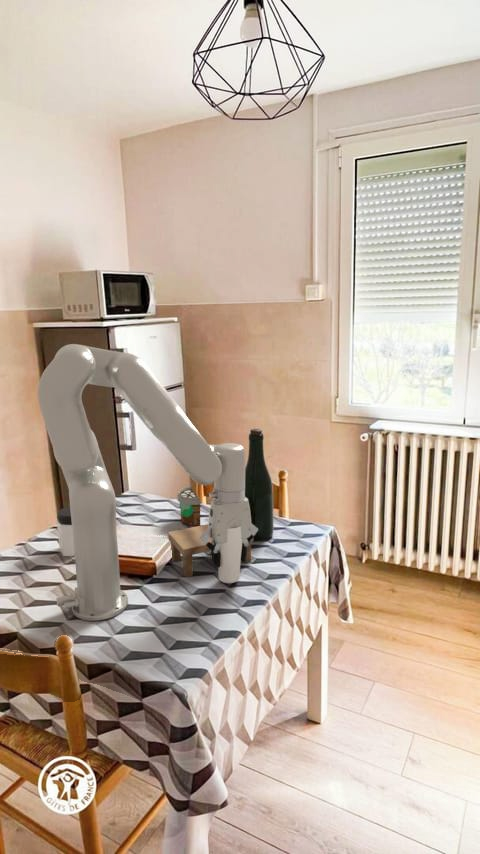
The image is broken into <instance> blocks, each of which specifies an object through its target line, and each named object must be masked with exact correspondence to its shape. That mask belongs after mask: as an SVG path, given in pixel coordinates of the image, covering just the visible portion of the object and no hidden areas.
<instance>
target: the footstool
mask: <svg viewBox="0 0 480 854" xmlns="http://www.w3.org/2000/svg"><path fill="white" fill-rule="evenodd" d="M207 528H208V523H207V524H202V525H201V524H200V526H197V527H188V528H183V529H178V530H172V531H169V532H167V540H168V541H169V542H170V551H171V550H172V560H171V562H172V563H174V562H175V563H178V561H179V562H182V574H183V576H184V577H185V578H188V577H193V576H194V570H193V569H194V566H193V565H194V564H193V562H194V561H193V556H194V555H200V554H203V553H207V552H211V550H210V549H209V548H208V547H207V546H206V545H204V544H203V543H202V542H201V541H200V540H199V538H200V536H201V535H202V534H203V533H204V532H205V531H206V529H207ZM208 541H209V542H210V543H211V541H212V537H209V538H208ZM252 542H254V541H253V538H252V540H251V541H250V542H249V545H248V546H247V556H246V561H245V562H243V563H244V564H245V563H249V562H251V561H252ZM181 555H182V557H181Z"/></svg>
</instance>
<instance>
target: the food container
mask: <svg viewBox="0 0 480 854" xmlns="http://www.w3.org/2000/svg"><path fill="white" fill-rule="evenodd" d="M176 498H177V501H178V502H179V511H180V519H181V523H182V525H184V526H186V527H189V528H192V527H197V526H201V506H202V505H201V504H202V503H201V502H202V501H201V497H198V495H197V494H196V492H195V491H194V489H193V486H188V487H183V488H181V489H180V490H179V491H178V494H177V497H176Z"/></svg>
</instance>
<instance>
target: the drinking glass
mask: <svg viewBox="0 0 480 854" xmlns="http://www.w3.org/2000/svg"><path fill="white" fill-rule="evenodd" d="M227 531H228V534H227V542H226V543H221V544H220V548H219V550H218V551H219V552H220V567H219V568H217V570H218V571H217V572H218V573H217V575H218V576H217V577H218V580H219V581H220V582H221V583H224V584H233V583H236V582H238V581H239V580H240V574H241V573H240V572H241V571H240V570H241V563H242V561H241V553H242V543H243V539H241V527H240V526H239V527H236V528H229V529H227Z"/></svg>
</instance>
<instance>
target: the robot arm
mask: <svg viewBox="0 0 480 854" xmlns="http://www.w3.org/2000/svg"><path fill="white" fill-rule="evenodd" d="M87 385H94V386H101V387H107V388H115V390H116V391H117V392H118V393H119V395H120V396H121V397H122V398H123V400H125V402H126V403H127V405H128V406H129V407H130V408H131V409H132V411H134V413H135V414H136V415H137V416H138V418H139V419H140V421H142V423H143V424H144V425H145V427H147V429H148V430H149V431H150V432H151V433H152V435H153V436H154V437H155V438H156V439H157V440H159V441H160V442H161V443H162V444H163V445H164V447H165V448H166V449H167V450H168V451H169V452H170V454H172V455H173V457H174V458H175V460H176V461H177V462H178V463H179V464H180V466H181V467H182V469H183V470H184V471H185V472H186V473H187V475H188V476H189V477H190V478H191V479H192V480H193V481H194V482H195V483H197V484H198V485H201V486H210V485H213V488H212V489H213V491H212V492H209V493H208V496H209V499H212V500H211V502H210V507H209V513H208V521H207V522H208V523H207V524H208V528H207V529H206V531H205V532H204V533H203V534H202V535H201V536H200V538H199V540H200V541H201V542H202V543H203V544H204V545H206V546H207V547H208V548H209V549H210V550H211V551H210V552H211V555H210V558H211V559H210V560H211V564H212V565H214V566H215V567H216V568H217V569H218V568H219V567H220V552H219V551H218V550H219V548H220V544H221V543H226V542H227V534H228V531H227V529H229V528H236V527H239V526H240V527H241V539H243V543H242V553H241V563H244V562H245V561H246V556H247V546H248V545H249V542H250V541H251V540H252V538H253V536H254V535H255V534H256V532H257V531H258V528H257V527H255V526H254V525H253V524H252V523H251V513H250V506H249V501H248V498H246V497H245V467H246V458H247V457H246V449H245V447H244V446H243V445H241V444H239V443H233V442H227V443H226V442H225V443H220V444H209V443H208V442H207V441H206V439H205V438H204V437H203V436H202V435H201V433H200V432H199V431H198V429H197V428H196V427H195V426H194V425H193V423H192V422H191V420H190V419H189V418H188V416H187V414H186V413H185V412H184V410H182V408H181V407H180V405H179V404H178V403H177V402H176V401H175V399H174V398H173V396H172V395H171V394H170V393H169V391H168V390H167V389H166V388H165V386H164V385H163V384H162V383H161V381H160V380H159V378H158V377H157V376H156V375H155V374H154V372H153V371H152V369H151V368H150V367H149V365H148V364H147V363H146V362H145V361H144V360H143V359H142V358H140V357H138V355H137V356H136V355H134V354H133V353H129V352H123V351H115V350H111V349H104V348H99V347H92V346H88V345H83V344H76V343H71V344H66V345H64V346H62V347H61V348H60V349H58V351H57V352H56V353H55V355H54V358H53V359H52V360H51V362H50V363H49V364H48V365H47V366H46V368H45V369H44V371H43V372H42V374H41V376H40V379H39V382H38V387H37V399H38V405H39V409H40V412H41V415H42V419H43V421H44V424H45V428H46V432H47V435H48V437H49V439H50V444H51V446H52V448H53V456H54V458H55V460H56V463H57V464H58V465H59V467H60V469H61V470H62V474H63V476H64V479H65V483H66V485H67V488H68V496H69V498H68V499H69V507H70V511H71V520H72V532H73V544H74V553H75V556H74V562H75V576H76V585H77V586H76V587H74V592H72V593H70V595H69V594H68V595H66V596H65V595H62V596H59V597H55V598H56V606H57V607H61V606H63V609H64V610H67V609H71V612H72V614H73V615H74V617H76V618H78V619H81V620H83V621H88V622H89V621H93V622H94V621H95V622H96V621H104V620H108V619H110V618H113V617H115V616H117V615H119V614H121V613H122V612H123V611H124V610H125V609H126V608H127V606H128V604H129V597H128V595H127V593H126V592H125V591H123V590H122V589H121V579H120V578H121V577H120V563H119V561H120V560H119V546H118V533H117V532H118V530H117V500H116V494H115V489H114V487H113V485H112V481H111V479H110V477H109V474H108V471H107V468H106V465H105V461H104V460H103V459H104V458H103V455H102V453H101V450H100V447H99V443H98V440H97V438H96V435H95V433H94V431H93V430H92V429H91V426H90V423H89V421H88V418H87V413H86V410H85V407H84V404H83V401H82V396H83V391H84V388H85V387H86V386H87ZM209 537H212V541H211V543H210V542H209V541H208V538H209Z"/></svg>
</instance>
